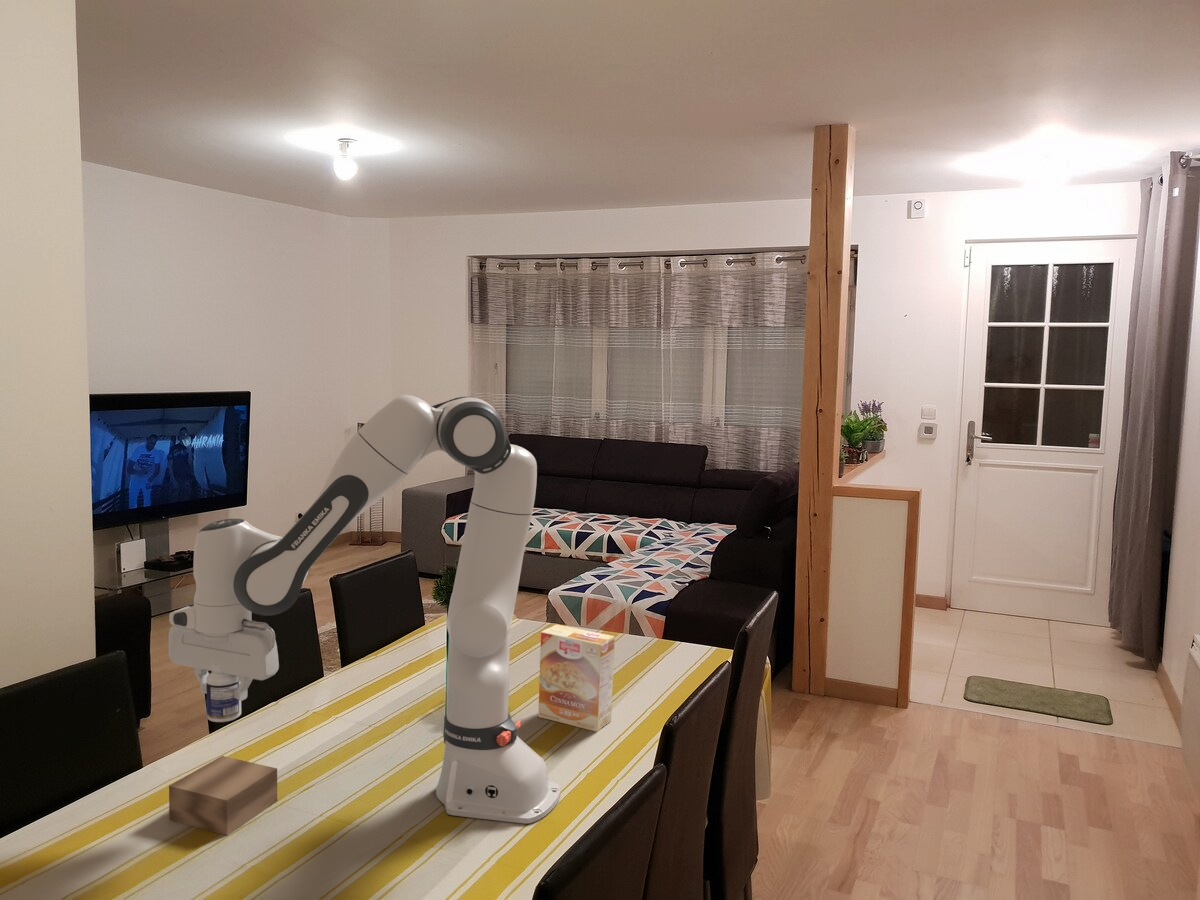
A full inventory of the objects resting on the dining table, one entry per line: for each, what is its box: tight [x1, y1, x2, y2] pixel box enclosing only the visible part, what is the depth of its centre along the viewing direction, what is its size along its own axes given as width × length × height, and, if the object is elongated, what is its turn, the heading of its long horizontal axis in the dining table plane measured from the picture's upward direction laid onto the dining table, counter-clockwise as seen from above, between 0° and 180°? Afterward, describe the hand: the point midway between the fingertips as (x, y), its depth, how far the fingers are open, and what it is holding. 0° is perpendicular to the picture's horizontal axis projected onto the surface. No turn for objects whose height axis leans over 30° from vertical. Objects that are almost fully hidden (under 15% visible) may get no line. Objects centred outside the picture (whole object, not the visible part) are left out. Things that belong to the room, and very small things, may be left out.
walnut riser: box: [168, 755, 278, 836], centre depth 150 cm, size 12×12×6 cm
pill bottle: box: [206, 664, 243, 723], centre depth 148 cm, size 5×5×10 cm
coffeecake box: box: [538, 623, 615, 733], centre depth 192 cm, size 15×7×20 cm, turn 63°
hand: (223, 695), depth 148 cm, fingers closed on pill bottle, 5 cm apart
